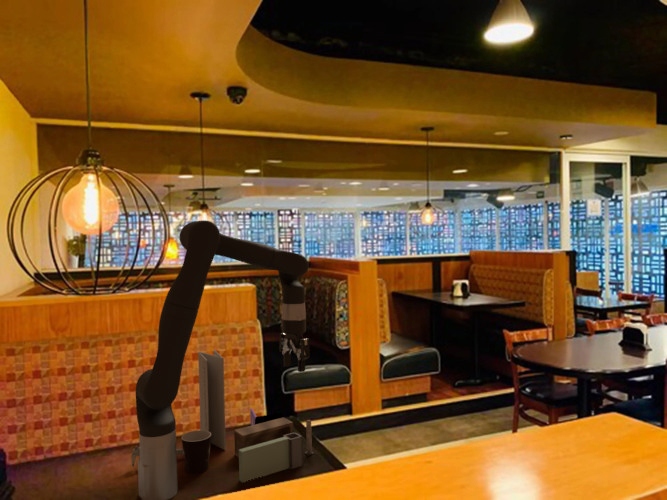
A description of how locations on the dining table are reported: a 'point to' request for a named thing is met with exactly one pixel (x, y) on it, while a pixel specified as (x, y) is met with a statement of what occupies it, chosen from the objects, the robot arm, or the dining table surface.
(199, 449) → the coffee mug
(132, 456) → the caliper
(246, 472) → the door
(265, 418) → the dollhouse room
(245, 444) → the cabinet
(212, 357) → the brochure
